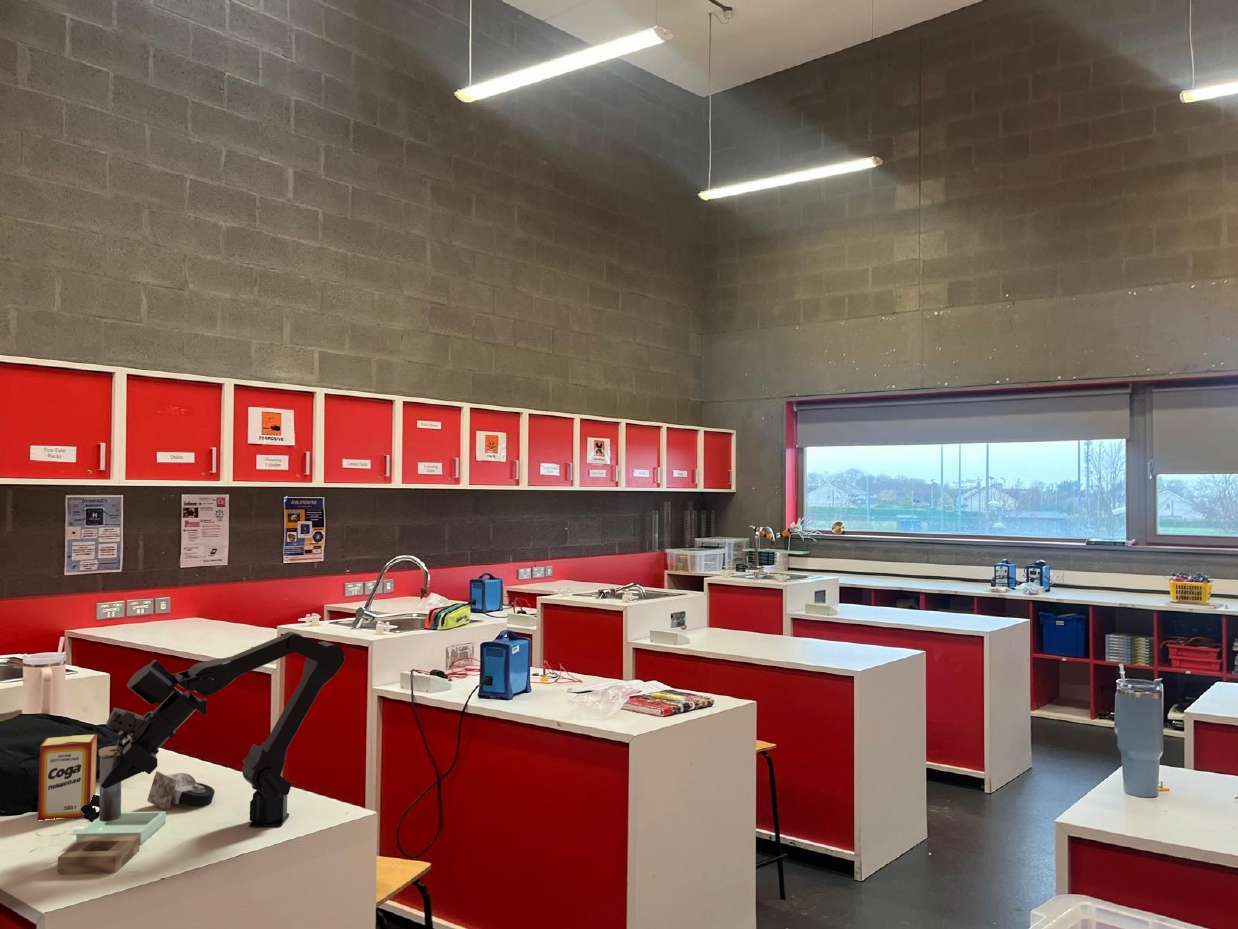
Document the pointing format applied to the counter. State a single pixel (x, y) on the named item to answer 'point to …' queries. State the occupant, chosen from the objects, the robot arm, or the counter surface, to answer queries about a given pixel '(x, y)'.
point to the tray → (126, 826)
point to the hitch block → (98, 854)
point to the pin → (110, 795)
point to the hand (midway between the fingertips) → (102, 784)
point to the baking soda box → (66, 776)
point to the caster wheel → (179, 791)
